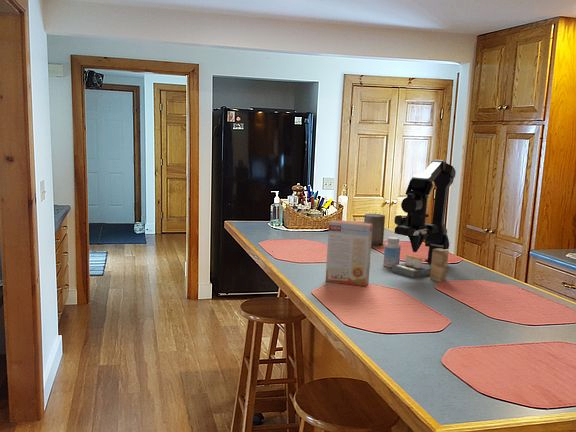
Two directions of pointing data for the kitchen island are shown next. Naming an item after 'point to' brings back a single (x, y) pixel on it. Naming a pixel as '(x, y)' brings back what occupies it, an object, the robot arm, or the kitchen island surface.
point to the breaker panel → (411, 270)
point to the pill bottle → (392, 252)
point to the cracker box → (349, 252)
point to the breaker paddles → (413, 261)
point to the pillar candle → (376, 227)
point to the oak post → (439, 264)
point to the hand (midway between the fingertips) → (414, 252)
